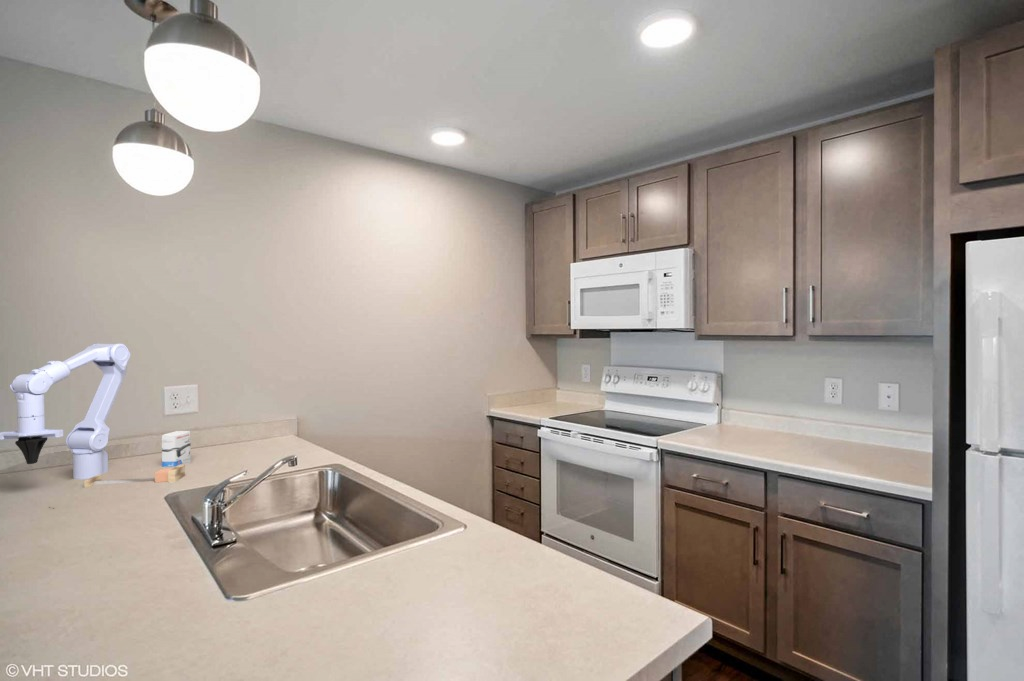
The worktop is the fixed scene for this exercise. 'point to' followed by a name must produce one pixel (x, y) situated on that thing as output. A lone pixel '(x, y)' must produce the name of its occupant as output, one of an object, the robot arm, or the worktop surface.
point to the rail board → (172, 477)
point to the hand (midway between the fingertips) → (32, 463)
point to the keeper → (162, 475)
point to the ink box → (176, 448)
